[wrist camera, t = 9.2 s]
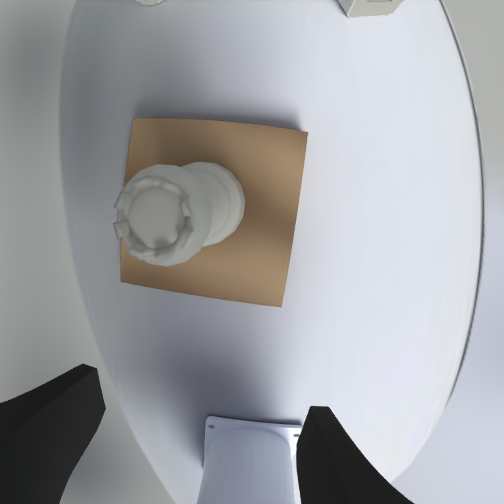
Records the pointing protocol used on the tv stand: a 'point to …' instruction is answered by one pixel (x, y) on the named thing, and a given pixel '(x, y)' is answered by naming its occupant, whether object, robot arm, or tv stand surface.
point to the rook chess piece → (178, 211)
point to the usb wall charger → (369, 7)
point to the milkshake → (149, 2)
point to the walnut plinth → (255, 210)
